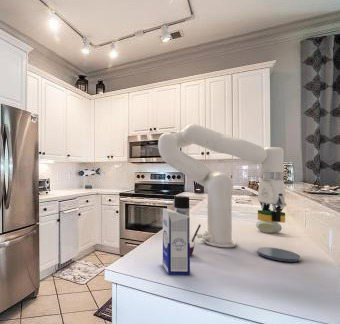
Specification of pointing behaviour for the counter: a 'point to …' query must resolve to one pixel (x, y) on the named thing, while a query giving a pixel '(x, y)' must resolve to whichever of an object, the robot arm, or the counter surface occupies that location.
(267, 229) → the air freshener
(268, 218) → the sponge
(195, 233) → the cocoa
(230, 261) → the counter surface
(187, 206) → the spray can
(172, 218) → the milk carton
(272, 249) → the plate
